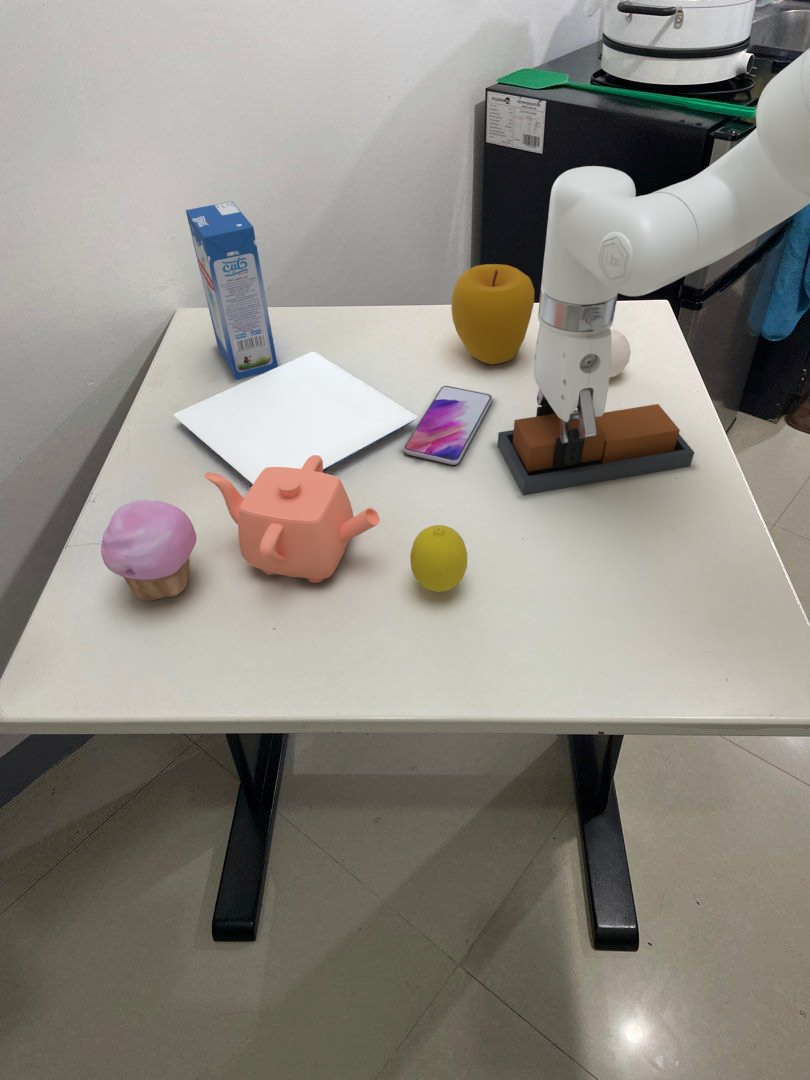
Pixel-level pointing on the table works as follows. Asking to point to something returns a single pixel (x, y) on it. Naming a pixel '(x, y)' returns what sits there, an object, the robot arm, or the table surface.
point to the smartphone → (448, 425)
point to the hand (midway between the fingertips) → (556, 448)
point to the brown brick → (549, 441)
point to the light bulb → (618, 352)
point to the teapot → (294, 520)
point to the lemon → (438, 558)
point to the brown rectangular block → (637, 433)
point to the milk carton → (233, 287)
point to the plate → (294, 417)
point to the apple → (492, 311)
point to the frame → (588, 467)
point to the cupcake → (150, 548)
